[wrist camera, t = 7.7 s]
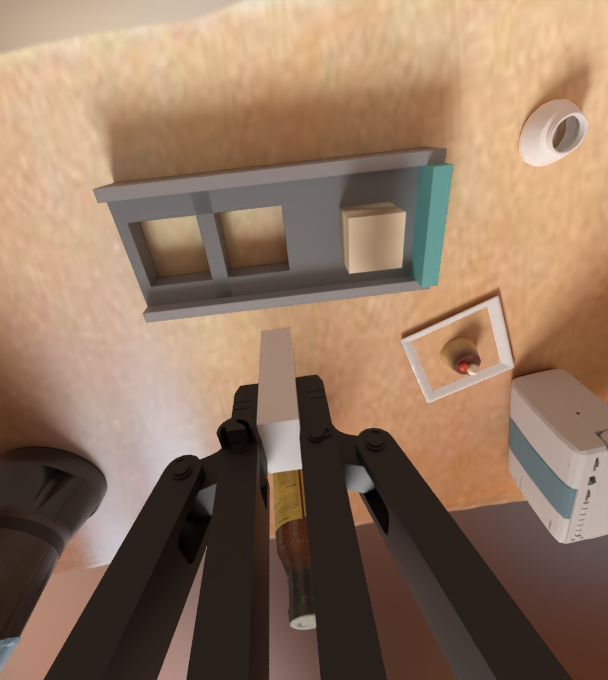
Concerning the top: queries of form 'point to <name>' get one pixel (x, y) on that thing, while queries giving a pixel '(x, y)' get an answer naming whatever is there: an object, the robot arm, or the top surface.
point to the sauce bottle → (294, 546)
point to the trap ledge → (286, 230)
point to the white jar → (551, 132)
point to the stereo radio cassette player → (560, 453)
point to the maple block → (371, 236)
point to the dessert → (463, 353)
